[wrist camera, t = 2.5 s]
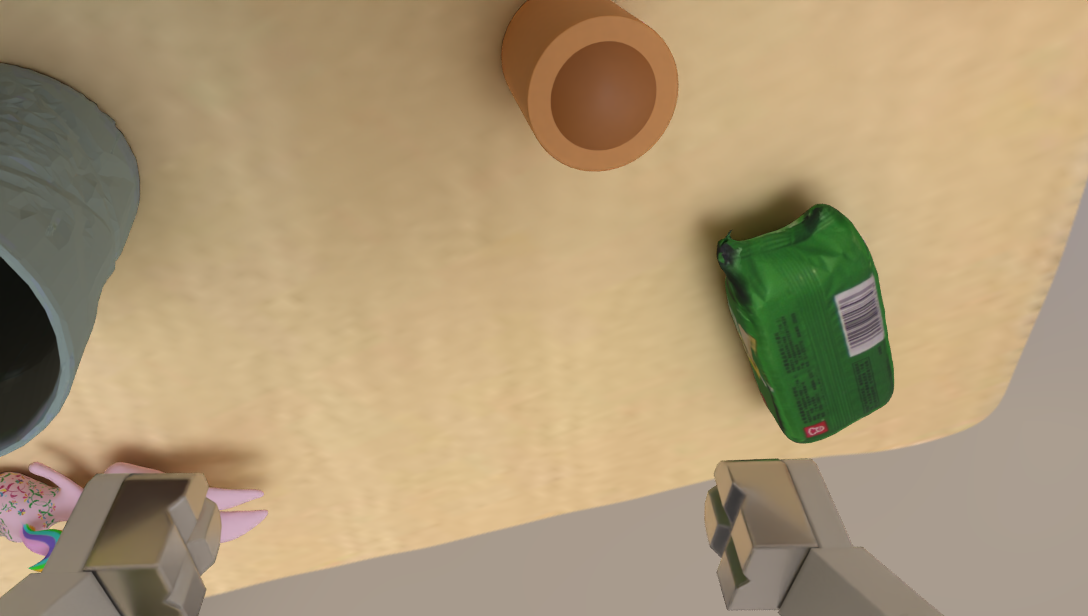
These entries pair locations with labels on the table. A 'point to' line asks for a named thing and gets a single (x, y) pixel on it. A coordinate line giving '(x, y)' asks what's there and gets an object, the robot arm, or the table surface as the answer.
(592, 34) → the terracotta hollow cylinder
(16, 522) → the rabbit figure
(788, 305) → the snack package
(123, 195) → the grey green plant pot
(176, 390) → the table surface
